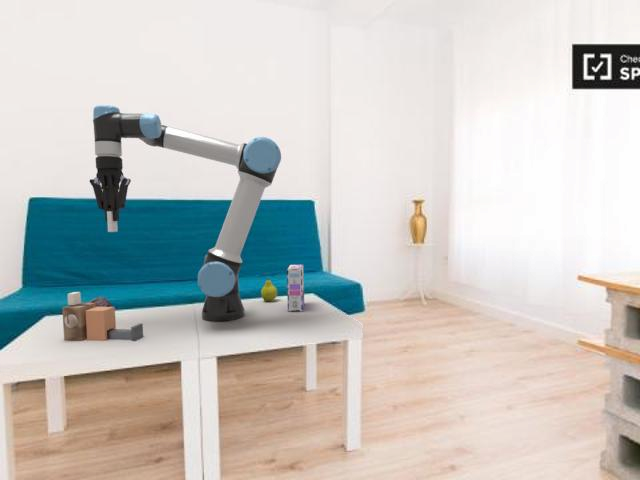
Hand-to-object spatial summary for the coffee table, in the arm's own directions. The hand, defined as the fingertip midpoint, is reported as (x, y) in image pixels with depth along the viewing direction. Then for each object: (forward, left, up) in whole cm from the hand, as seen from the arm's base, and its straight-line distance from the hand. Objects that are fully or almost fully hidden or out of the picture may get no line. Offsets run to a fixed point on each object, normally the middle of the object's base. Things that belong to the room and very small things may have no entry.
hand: (112, 231), depth 132 cm
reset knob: (+10, +6, -22) cm, 25 cm away
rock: (+14, -9, -33) cm, 37 cm away
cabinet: (+8, +6, -32) cm, 34 cm away
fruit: (-37, -49, -33) cm, 69 cm away
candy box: (-51, -37, -33) cm, 71 cm away
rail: (-3, +6, -32) cm, 33 cm away
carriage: (+1, +6, -32) cm, 33 cm away
